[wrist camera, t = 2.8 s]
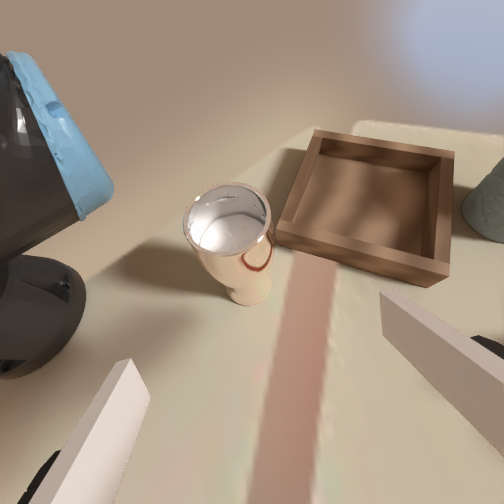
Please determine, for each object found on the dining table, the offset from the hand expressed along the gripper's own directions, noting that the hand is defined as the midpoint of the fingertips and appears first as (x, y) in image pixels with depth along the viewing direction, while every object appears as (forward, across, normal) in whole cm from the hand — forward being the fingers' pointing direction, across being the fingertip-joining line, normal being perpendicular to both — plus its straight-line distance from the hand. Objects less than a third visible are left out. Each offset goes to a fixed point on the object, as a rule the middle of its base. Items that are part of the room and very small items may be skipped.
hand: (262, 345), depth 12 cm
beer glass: (+18, 0, -5) cm, 18 cm away
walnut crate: (+22, +18, 0) cm, 29 cm away
